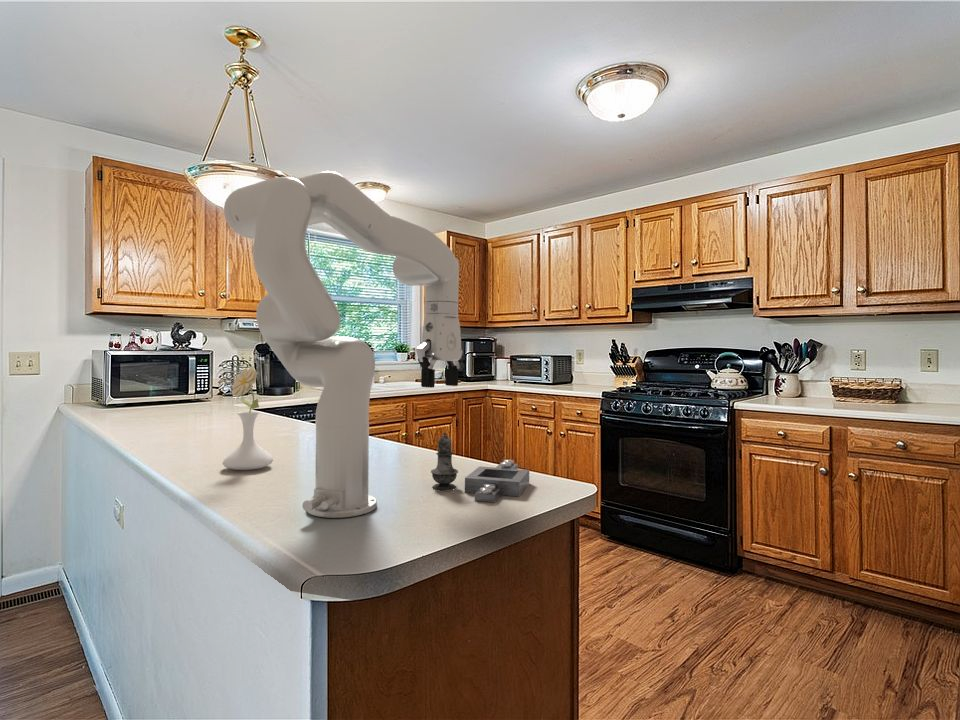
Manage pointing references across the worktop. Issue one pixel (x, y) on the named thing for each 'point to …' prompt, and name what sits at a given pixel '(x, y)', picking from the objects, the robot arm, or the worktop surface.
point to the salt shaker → (444, 466)
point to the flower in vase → (247, 429)
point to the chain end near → (493, 491)
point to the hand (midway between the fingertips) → (440, 386)
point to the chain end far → (502, 470)
